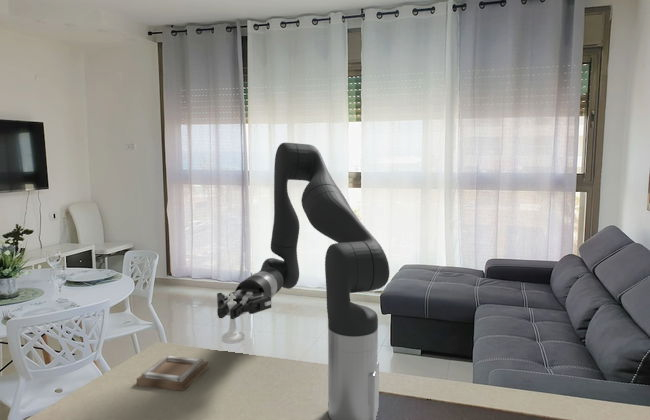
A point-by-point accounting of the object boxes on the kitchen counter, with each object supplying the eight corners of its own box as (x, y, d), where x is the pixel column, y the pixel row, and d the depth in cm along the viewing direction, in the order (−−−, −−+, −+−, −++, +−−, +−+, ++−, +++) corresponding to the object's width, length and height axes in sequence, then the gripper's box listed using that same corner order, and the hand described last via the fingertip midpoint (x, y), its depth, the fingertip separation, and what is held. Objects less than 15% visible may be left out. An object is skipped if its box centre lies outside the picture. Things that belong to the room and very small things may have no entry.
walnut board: (208, 367, 111) (207, 358, 110) (183, 391, 100) (182, 380, 100) (165, 363, 113) (165, 353, 113) (137, 385, 103) (136, 374, 102)
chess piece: (239, 344, 99) (238, 297, 98) (217, 342, 100) (215, 296, 99) (248, 335, 104) (246, 290, 103) (226, 334, 105) (225, 289, 104)
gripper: (230, 273, 116) (194, 294, 99) (284, 276, 113) (257, 298, 96) (231, 303, 117) (196, 329, 100) (285, 307, 114) (258, 334, 97)
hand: (226, 314), depth 98 cm, fingers closed on chess piece
